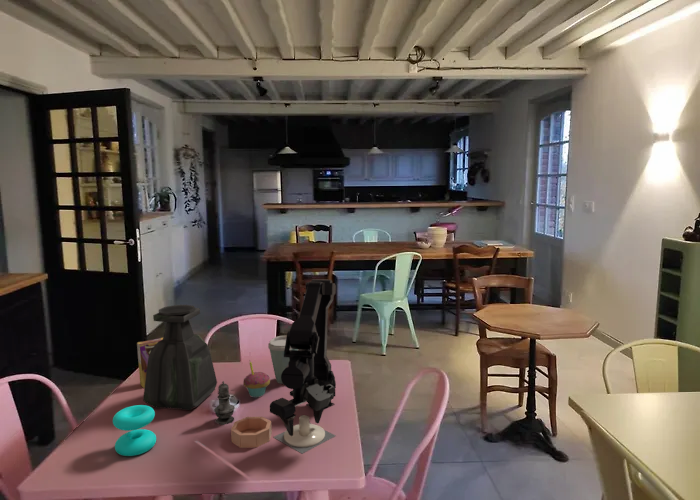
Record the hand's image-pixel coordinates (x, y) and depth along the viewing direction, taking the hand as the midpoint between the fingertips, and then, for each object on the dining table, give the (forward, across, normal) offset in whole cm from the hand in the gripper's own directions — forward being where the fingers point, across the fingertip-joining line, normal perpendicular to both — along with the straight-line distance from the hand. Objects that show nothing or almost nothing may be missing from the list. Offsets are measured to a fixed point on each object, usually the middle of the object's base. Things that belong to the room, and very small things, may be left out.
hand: (304, 429), depth 129 cm
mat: (+3, 0, 0) cm, 3 cm away
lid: (+2, 0, 0) cm, 2 cm away
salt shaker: (+3, -9, +25) cm, 27 cm away
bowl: (+3, -10, +10) cm, 14 cm away
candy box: (+3, -11, +67) cm, 68 cm away
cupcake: (+3, +8, +33) cm, 34 cm away
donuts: (+3, -33, +29) cm, 44 cm away
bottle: (+3, -11, +47) cm, 48 cm away
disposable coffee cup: (+3, +21, +35) cm, 41 cm away
